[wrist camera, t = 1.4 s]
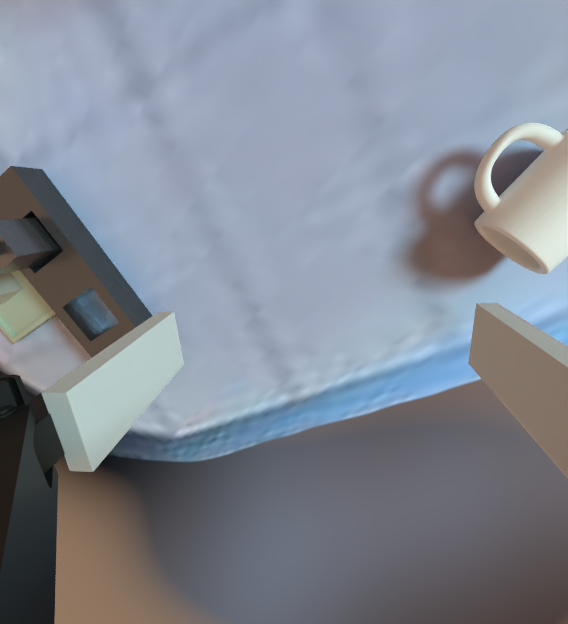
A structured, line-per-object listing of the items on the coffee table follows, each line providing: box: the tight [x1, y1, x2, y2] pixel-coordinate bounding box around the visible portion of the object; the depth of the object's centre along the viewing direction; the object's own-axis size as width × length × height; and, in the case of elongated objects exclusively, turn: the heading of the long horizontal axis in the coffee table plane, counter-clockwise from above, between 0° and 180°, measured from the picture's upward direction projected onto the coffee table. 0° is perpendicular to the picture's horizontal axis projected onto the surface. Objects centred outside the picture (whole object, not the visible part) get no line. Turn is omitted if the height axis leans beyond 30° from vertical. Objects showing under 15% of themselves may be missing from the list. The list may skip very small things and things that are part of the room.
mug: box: [474, 123, 568, 274], centre depth 29 cm, size 12×10×8 cm
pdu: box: [0, 166, 152, 357], centre depth 36 cm, size 24×8×12 cm, turn 32°
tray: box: [0, 270, 56, 344], centre depth 43 cm, size 14×10×1 cm
